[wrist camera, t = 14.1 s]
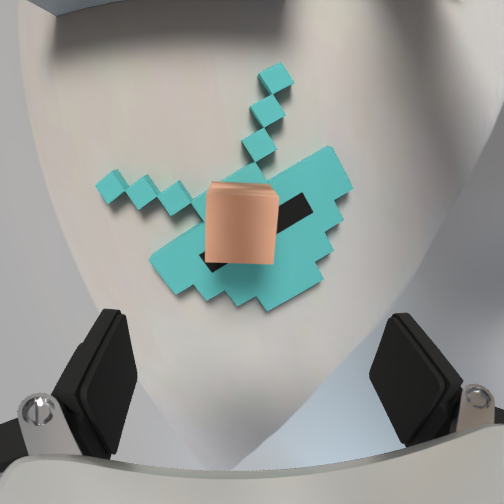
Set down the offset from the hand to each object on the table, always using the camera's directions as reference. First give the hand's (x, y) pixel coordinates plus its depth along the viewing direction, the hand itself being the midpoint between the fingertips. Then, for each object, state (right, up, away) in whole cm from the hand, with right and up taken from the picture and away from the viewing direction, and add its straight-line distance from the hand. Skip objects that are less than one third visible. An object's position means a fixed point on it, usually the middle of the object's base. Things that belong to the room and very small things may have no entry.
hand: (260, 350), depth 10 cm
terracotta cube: (-1, +7, +17) cm, 18 cm away
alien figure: (-1, +8, +19) cm, 21 cm away
